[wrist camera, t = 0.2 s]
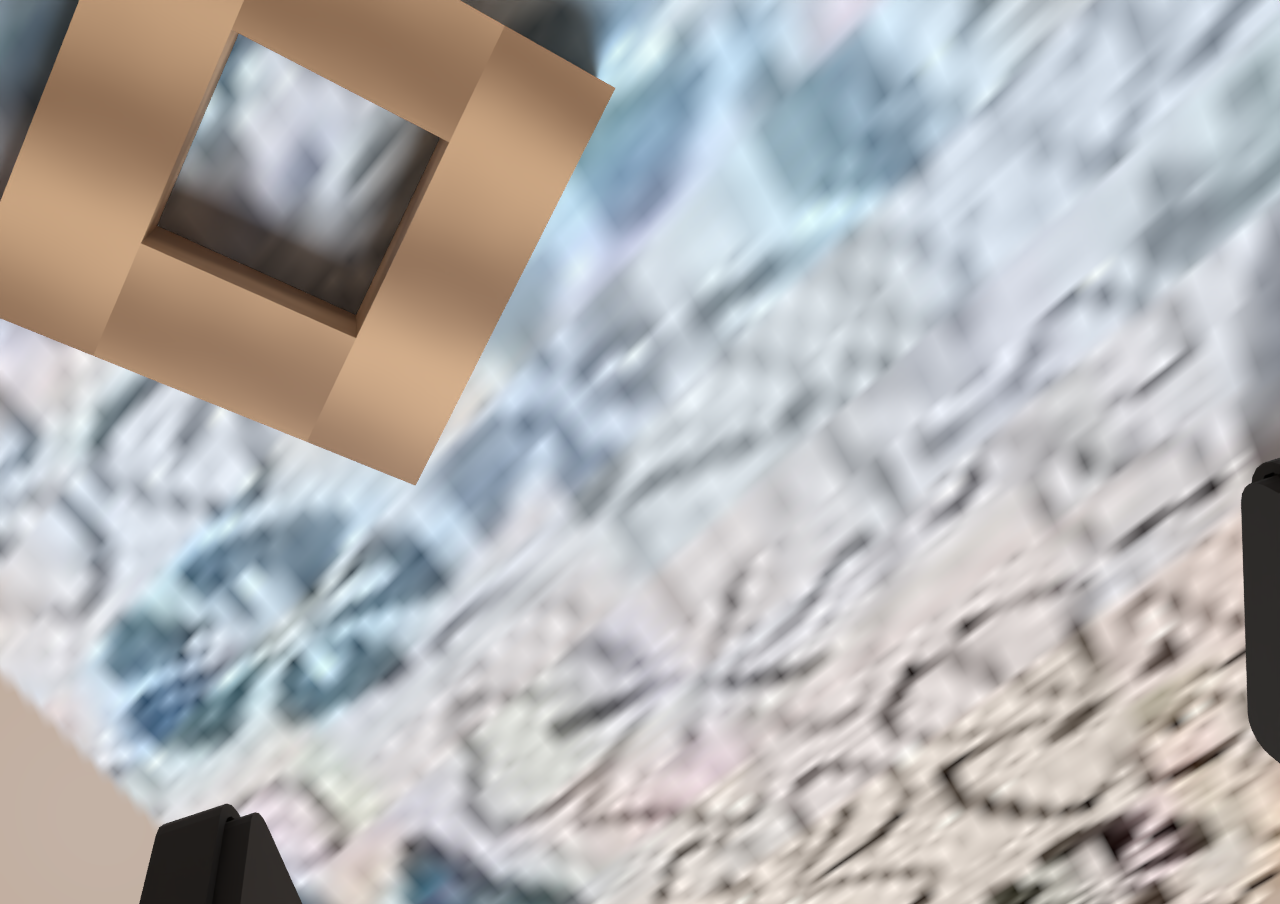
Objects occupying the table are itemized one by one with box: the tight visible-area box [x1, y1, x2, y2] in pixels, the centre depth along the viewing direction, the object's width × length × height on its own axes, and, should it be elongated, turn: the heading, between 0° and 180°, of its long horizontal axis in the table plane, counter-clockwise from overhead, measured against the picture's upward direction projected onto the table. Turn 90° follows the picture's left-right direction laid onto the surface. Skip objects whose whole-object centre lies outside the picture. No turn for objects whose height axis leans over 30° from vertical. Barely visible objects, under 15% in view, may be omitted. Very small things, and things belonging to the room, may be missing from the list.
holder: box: [0, 0, 615, 485], centre depth 36 cm, size 14×14×3 cm
